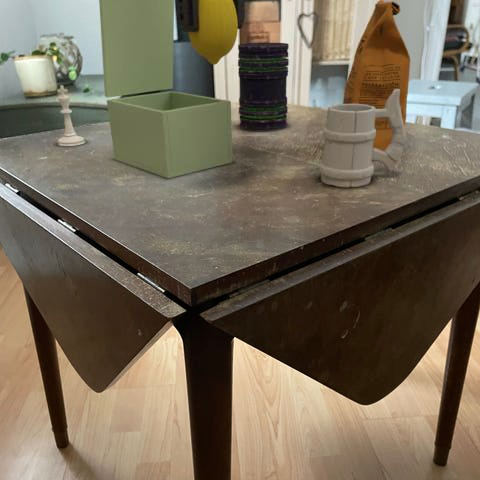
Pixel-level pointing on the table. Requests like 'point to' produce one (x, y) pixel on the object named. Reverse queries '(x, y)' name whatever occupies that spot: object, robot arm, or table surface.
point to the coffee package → (380, 69)
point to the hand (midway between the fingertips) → (212, 29)
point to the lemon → (215, 29)
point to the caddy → (171, 132)
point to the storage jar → (263, 86)
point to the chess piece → (68, 122)
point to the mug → (359, 142)
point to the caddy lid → (137, 45)
